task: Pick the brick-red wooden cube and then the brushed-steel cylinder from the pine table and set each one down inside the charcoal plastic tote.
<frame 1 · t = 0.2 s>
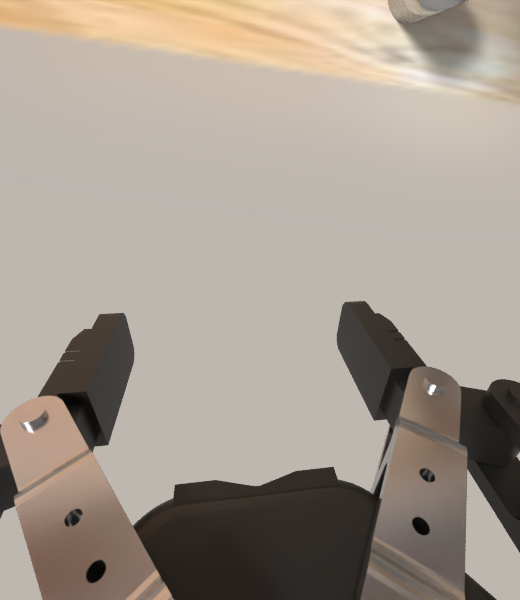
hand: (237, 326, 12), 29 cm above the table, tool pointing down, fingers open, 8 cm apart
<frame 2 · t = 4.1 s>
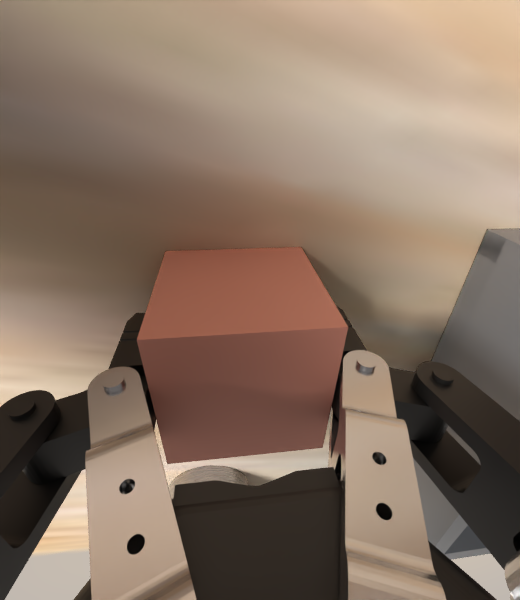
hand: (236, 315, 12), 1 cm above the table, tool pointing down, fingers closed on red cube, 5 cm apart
steel cylinder: (209, 487, 20), on the table
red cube: (236, 305, 13), on the table, touching gripper
when the fingers open (3 cm above the table, at t = 9.7 s): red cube drops 1 cm, resting on tote.
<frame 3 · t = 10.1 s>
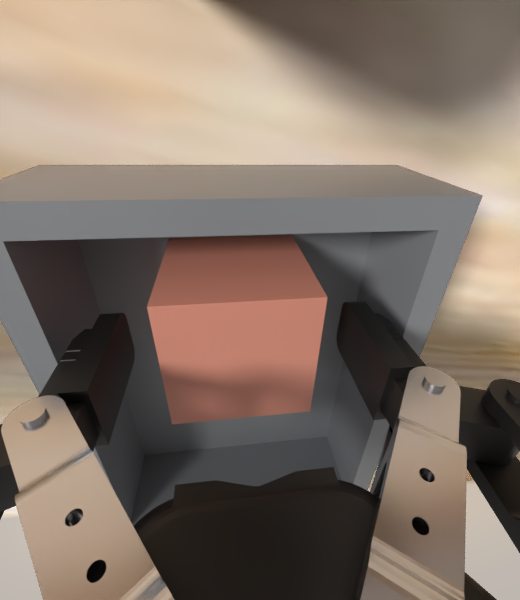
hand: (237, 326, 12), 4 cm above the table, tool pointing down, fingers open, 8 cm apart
tote: (234, 341, 17), on the table
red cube: (233, 288, 14), point 1 cm above the table, touching tote
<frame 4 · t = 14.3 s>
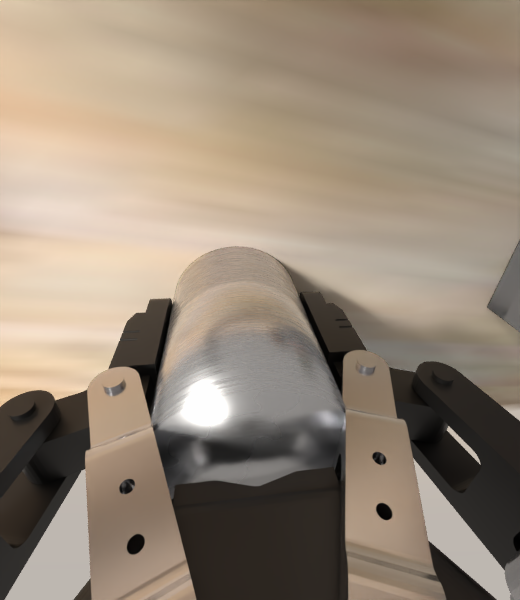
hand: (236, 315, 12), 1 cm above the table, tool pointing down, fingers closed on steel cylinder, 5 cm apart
steel cylinder: (236, 302, 13), on the table, touching gripper
when the fingers open (4 cm above the table, at t = 19.9 s): steel cylinder drops 2 cm, resting on tote.
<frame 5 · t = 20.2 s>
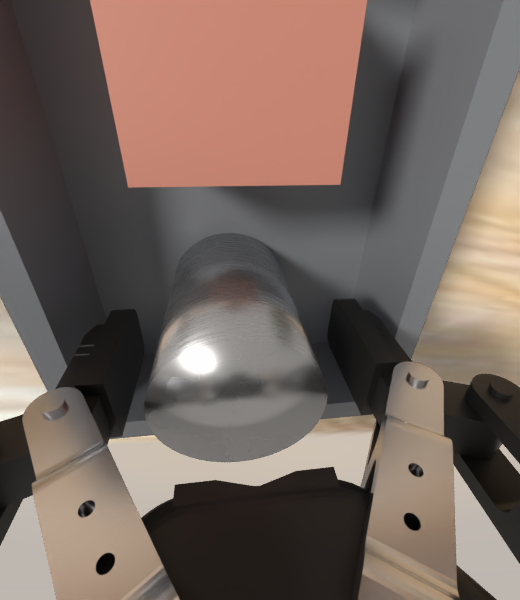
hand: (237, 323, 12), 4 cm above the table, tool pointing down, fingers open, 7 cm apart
tote: (229, 189, 13), on the table
steel cylinder: (229, 284, 14), point 1 cm above the table, touching tote
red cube: (226, 71, 10), point 1 cm above the table, touching tote
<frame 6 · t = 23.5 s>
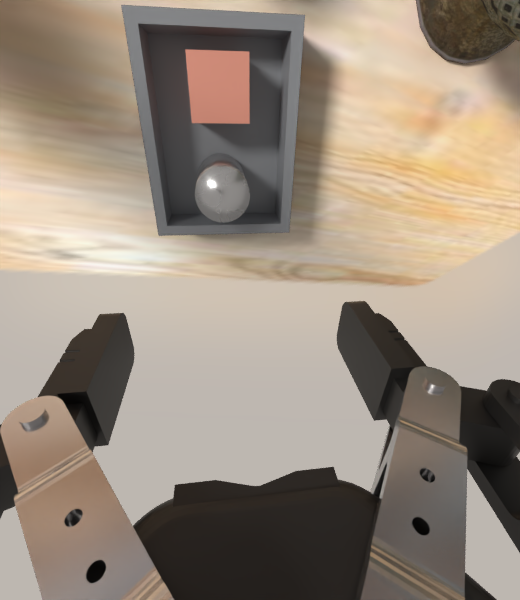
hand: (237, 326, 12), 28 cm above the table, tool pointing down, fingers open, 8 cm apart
tote: (220, 135, 33), on the table
steel cylinder: (221, 177, 34), point 1 cm above the table, touching tote
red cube: (218, 90, 30), point 1 cm above the table, touching tote
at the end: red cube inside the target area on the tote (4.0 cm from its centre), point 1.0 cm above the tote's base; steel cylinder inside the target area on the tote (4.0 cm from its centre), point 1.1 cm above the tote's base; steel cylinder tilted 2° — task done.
